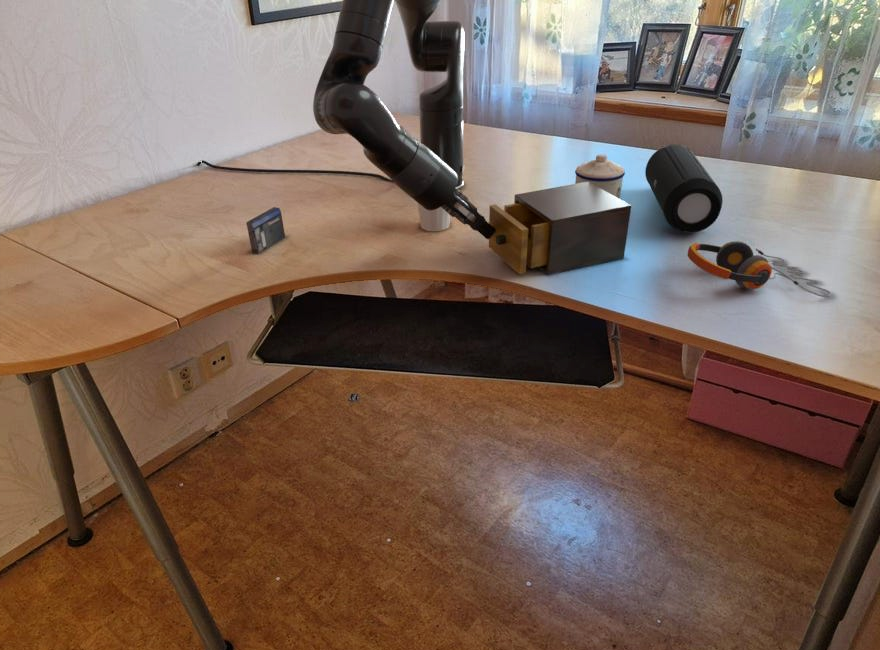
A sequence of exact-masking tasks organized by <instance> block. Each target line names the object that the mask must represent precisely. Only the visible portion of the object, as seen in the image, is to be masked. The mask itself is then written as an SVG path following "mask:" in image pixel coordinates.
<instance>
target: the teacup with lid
mask: <svg viewBox="0 0 880 650" xmlns="http://www.w3.org/2000/svg"><path fill="white" fill-rule="evenodd" d="M575 168H576V169H575V171H574V173H575V183H574V184H577V183H583V182H590V183H591V184H593V185H595V186H597V187H599V188H601V189H602V190H604V191H606V192H608V193H610V194H612V195H613V196H615V197H617V198H619V199H621V193H622V186H623V180H624V177H625V174H626V172H625V169H624V167H623V166H622V165H620V164H618V163H616V162H613V161H612V160H611V159H608V156H607V155H606V154H603V153H599V154H596V155H595V159H591V160H589V161H586V162H583V163H581V164H579V165H577V167H575Z"/></svg>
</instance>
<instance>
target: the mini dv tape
mask: <svg viewBox="0 0 880 650" xmlns="http://www.w3.org/2000/svg"><path fill="white" fill-rule="evenodd" d="M245 224H246V229H247V233H248V238H249V244H250V249H251V253H255V254H261V253H263V252H264V251H265V250H267V249H269V248H270V247H273V246H274V245H275V244H277V243H279V242H280V241H281V240H283V239H285V238H286V234H285V227H284V221H283V216H282V211H281V209H280V207H276V206H273V207H271V208H270V209H268V210H266V211H264V212H263V213H260V214H258V215H257V216H255V217H253V218H252V219H249V220H248V221H246V223H245Z"/></svg>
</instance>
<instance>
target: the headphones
mask: <svg viewBox="0 0 880 650" xmlns="http://www.w3.org/2000/svg"><path fill="white" fill-rule="evenodd" d="M699 251H705V252H710V253H714V254H716V255H715V256H716V257H715V263H714V262H712V261H710V260H708V259H706V258H705V257H704V256H702V255H701V254H700V253H699ZM755 251H756V252H757V253H758V254H755V255H754V252H753V249H752V248H751V247H750V245H748V244H747V243H746V242H743V241H739V240H735V241H730V242H726V243H724V244H723V245H722V246H719V245H714V244H709V243H698V242H693V243H692V244H691V245H690V246H689V247H688V249H687V257H688V259H689V260H690V261H691V262H692V263H693V264H694V265H696V267H698V268H700V269H701V270H702V271H705V272H707V273H708V274H711V275H713V276H715V277H717V278H721V279H723V280H731V281H735V283H736V285H738V287H741V288H742V289H750V290H757V289H759V288H762V286H764V285H766V283H767V282H768V281H769V280H774V279H776V276H777V275H779V276H782V277H783V278H786V279H788V280H789V281H792V283H793V284H794V285H796V286H798V287H800V288H801V289H803V290H804V291H805V292H808V293H810V294H812V295H815V296H818V297H822V298H823V297H824V298H830V297H832V296H833V295H832V293H831V291H829V290H828V289H825V288H822V287H820V286H817V285H813V284H819V283H820V282H819V280H816V279H811V278H806V277H805V278H803V277H804V276H803V274H805V271H804V270H801V269H799V267H796V266H791V265H789V264H788V263H787V262H786V260H785V259H783V258H782V257H779V256H774V255H773V256H772V255H767V254H765V253H764V252H763V251H762V250H759V249H758V248H755ZM767 258H772V260H771V264H770V263H769V261H768V259H767ZM775 259H776V260H775ZM771 265H773V266H776V267H782V268H786V269H787V273H789V275H787V274H786V273H784V272H782V271H781V270H780V269H777V268H775V267H772V266H771ZM773 270H774V271H776V272H774V273H773V276H772V272H773ZM771 276H772V277H771ZM794 279H798V280H803V281H805V282H804V283H805V284H806V285H807V286H809V287H813V288H815V289H818V290H821V291H824V292H826V293H828V295H825V294H820V293H817V292H814V291H811V290H809V289H807V288H806V287H804V286H803V285H801V284H800V283H799V282H798V281H797V280H794Z"/></svg>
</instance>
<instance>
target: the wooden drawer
mask: <svg viewBox="0 0 880 650" xmlns="http://www.w3.org/2000/svg"><path fill="white" fill-rule="evenodd" d="M503 207H504V209H503V208H502V207H500V206H498V204H491V205H489V221H488V223H489V224H490V225H491V226H492V227H494V228H495V229H496V231H495V233H494V234H493V235H492V236H491V238H490V239H488V248H489V249H490V250H491V251H492V252H493V253H495V254H496V255H497V256H498V257H499V258H500V259H502V261H504V262H505V263H506V264H507V265H508V266H509V267H511V269H513V270H514V271H515V272H516V273H517V274H518V275H523V274H526V273H527V266H528V267H529V268H531V269H533V268H539V266H543V265H547V252H548V240H549V227H550V223H548V222H547V221H546V220H544V219H543V218H541V217H540V216H538V215H537V214H536V213H534V212H533V211H531V210H530V209H528V208H527V207H526V206H524V205H523V204H521V203H516V204H514V203H510V204H505V205H504V206H503Z"/></svg>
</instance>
